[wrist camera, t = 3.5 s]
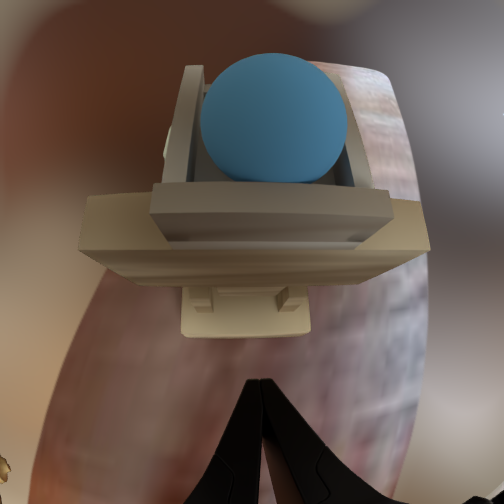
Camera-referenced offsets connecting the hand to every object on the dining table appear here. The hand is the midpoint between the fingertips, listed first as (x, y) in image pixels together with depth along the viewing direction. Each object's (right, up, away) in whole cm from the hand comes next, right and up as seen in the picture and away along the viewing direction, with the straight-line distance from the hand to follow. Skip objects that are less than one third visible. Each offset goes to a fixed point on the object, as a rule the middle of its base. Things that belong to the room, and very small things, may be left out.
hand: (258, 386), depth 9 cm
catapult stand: (-1, +1, +11) cm, 11 cm away
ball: (0, +7, -3) cm, 8 cm away
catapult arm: (-1, +4, +8) cm, 9 cm away
